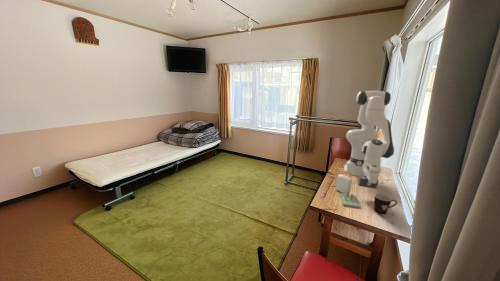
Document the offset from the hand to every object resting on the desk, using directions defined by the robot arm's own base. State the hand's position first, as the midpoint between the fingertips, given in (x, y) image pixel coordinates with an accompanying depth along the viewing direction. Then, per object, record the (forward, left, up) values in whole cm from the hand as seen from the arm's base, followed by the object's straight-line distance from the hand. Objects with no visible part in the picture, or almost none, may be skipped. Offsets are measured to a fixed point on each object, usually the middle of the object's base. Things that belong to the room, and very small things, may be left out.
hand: (367, 182), depth 134 cm
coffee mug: (+18, +5, -10) cm, 21 cm away
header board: (+10, -12, -10) cm, 18 cm away
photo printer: (-2, -14, -10) cm, 17 cm away
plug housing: (0, 0, -2) cm, 2 cm away
